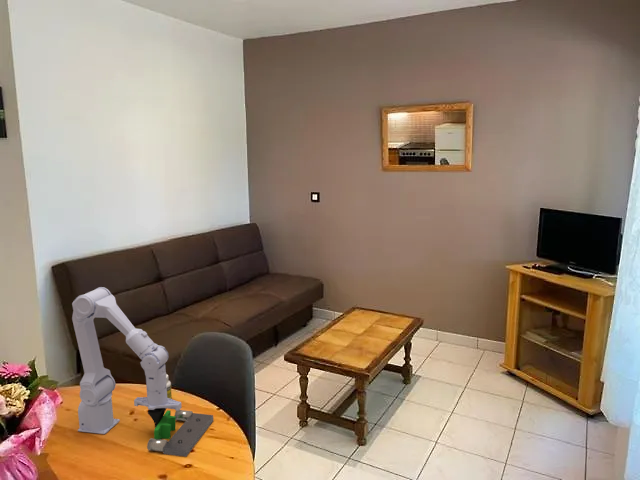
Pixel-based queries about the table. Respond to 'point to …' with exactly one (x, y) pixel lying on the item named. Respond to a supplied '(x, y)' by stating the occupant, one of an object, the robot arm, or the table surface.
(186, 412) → the fixed leaf
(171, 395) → the supplement bottle
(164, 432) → the green notched block
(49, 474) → the table surface
